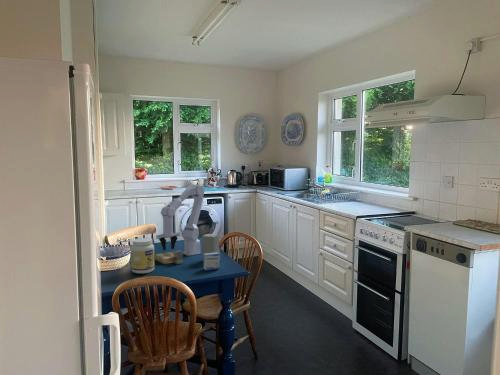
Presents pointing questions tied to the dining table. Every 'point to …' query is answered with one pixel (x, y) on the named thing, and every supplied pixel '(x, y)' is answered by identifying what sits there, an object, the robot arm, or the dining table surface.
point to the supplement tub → (142, 255)
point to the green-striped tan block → (165, 257)
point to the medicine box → (211, 261)
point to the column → (178, 257)
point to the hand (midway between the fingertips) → (168, 249)
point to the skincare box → (210, 244)
